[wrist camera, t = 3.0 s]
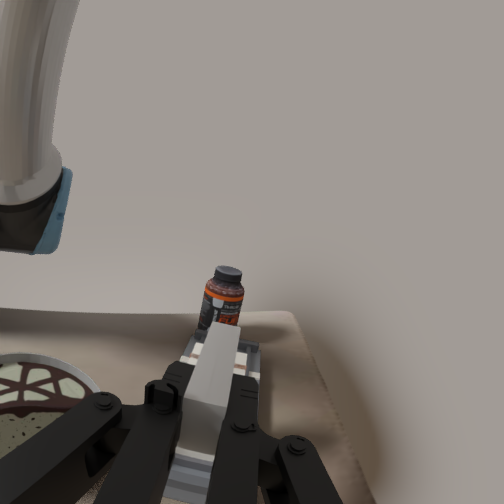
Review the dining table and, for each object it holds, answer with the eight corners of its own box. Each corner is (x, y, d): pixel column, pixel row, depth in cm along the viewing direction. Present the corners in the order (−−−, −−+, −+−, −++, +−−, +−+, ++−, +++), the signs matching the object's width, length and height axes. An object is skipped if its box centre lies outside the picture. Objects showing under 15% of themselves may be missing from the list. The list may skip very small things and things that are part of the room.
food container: (96, 428, 25) (90, 345, 23) (117, 475, 20) (111, 395, 18) (-18, 434, 17) (-48, 347, 15) (-13, 486, 12) (-58, 400, 10)
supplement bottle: (216, 350, 46) (230, 279, 43) (188, 332, 49) (200, 264, 47) (241, 339, 51) (256, 274, 48) (214, 324, 54) (226, 261, 51)
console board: (129, 485, 20) (127, 465, 19) (190, 346, 45) (193, 327, 44) (248, 513, 20) (256, 496, 19) (257, 361, 45) (262, 343, 44)
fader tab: (165, 461, 22) (175, 372, 19) (178, 424, 26) (191, 337, 24) (225, 475, 22) (250, 389, 19) (230, 437, 26) (253, 352, 24)
